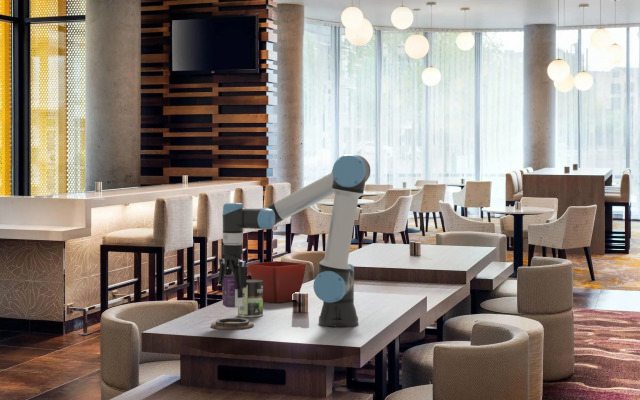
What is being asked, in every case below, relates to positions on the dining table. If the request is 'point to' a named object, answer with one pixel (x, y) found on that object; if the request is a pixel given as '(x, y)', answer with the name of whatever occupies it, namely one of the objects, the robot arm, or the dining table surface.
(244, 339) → the dining table surface
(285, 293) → the plant pot
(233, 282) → the beverage can
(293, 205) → the robot arm
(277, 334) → the dining table surface
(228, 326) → the coaster
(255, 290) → the coffee can
